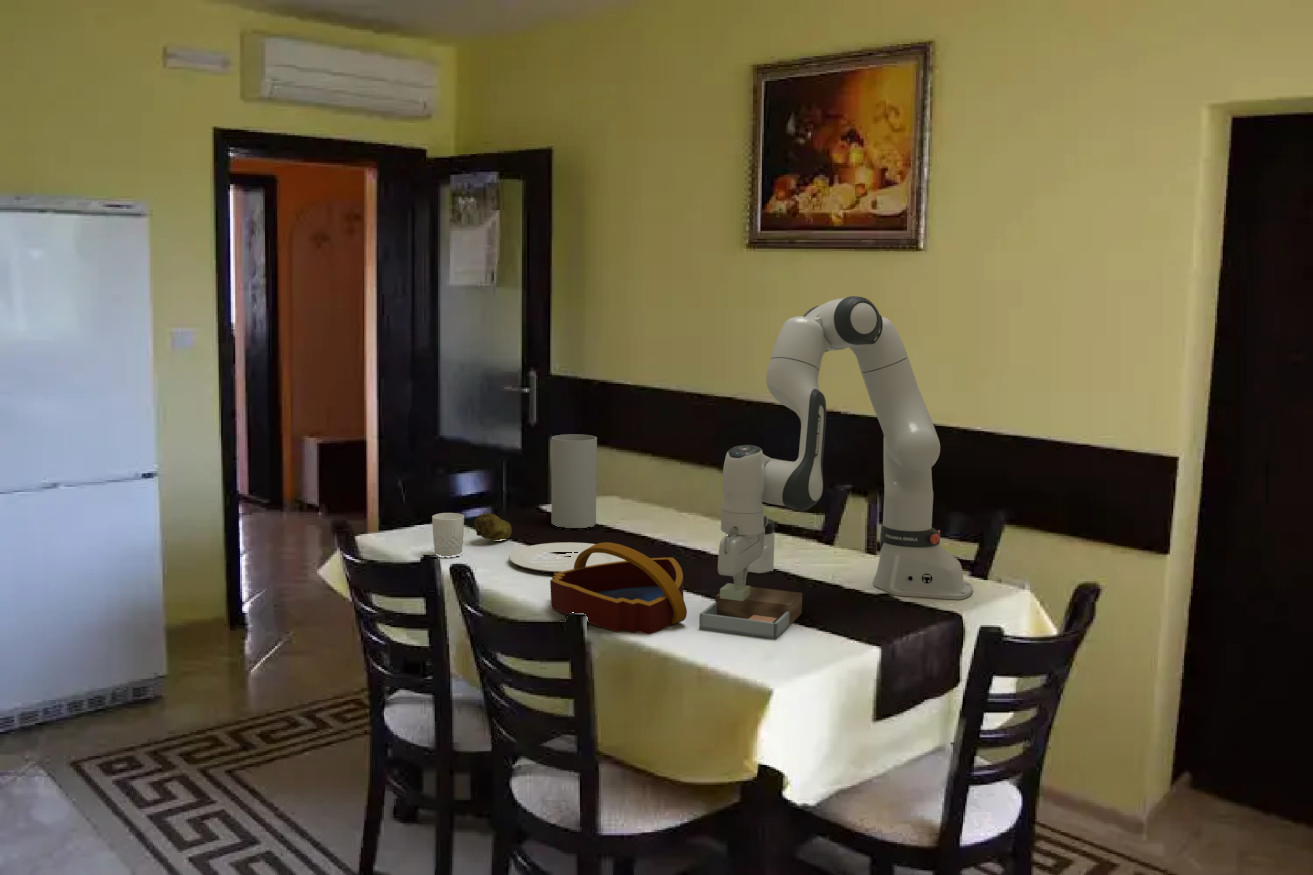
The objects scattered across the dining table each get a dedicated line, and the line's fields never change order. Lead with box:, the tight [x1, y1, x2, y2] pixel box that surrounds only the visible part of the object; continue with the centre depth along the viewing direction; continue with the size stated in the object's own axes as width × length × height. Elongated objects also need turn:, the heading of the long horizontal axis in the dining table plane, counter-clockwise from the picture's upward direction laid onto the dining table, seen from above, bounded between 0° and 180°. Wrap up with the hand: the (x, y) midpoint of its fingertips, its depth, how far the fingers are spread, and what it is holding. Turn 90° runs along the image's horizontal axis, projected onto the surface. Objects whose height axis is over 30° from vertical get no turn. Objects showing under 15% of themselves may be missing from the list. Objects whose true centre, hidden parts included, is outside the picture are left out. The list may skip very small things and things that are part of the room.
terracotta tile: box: [749, 615, 777, 623], centre depth 239 cm, size 5×5×2 cm
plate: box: [508, 542, 626, 574], centre depth 292 cm, size 29×29×2 cm
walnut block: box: [715, 586, 803, 627], centre depth 250 cm, size 16×10×4 cm, turn 68°
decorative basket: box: [549, 541, 688, 635], centre depth 251 cm, size 34×29×15 cm
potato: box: [473, 512, 512, 541], centre depth 312 cm, size 8×13×8 cm, turn 136°
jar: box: [748, 518, 775, 574], centre depth 288 cm, size 9×8×12 cm
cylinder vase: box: [551, 433, 598, 529], centre depth 332 cm, size 12×12×25 cm
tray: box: [698, 601, 790, 641], centre depth 241 cm, size 16×9×3 cm, turn 68°
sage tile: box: [719, 582, 751, 601], centre depth 248 cm, size 5×5×2 cm
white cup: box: [431, 512, 465, 556], centre depth 296 cm, size 8×8×10 cm
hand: (739, 586), depth 252 cm, fingers closed
